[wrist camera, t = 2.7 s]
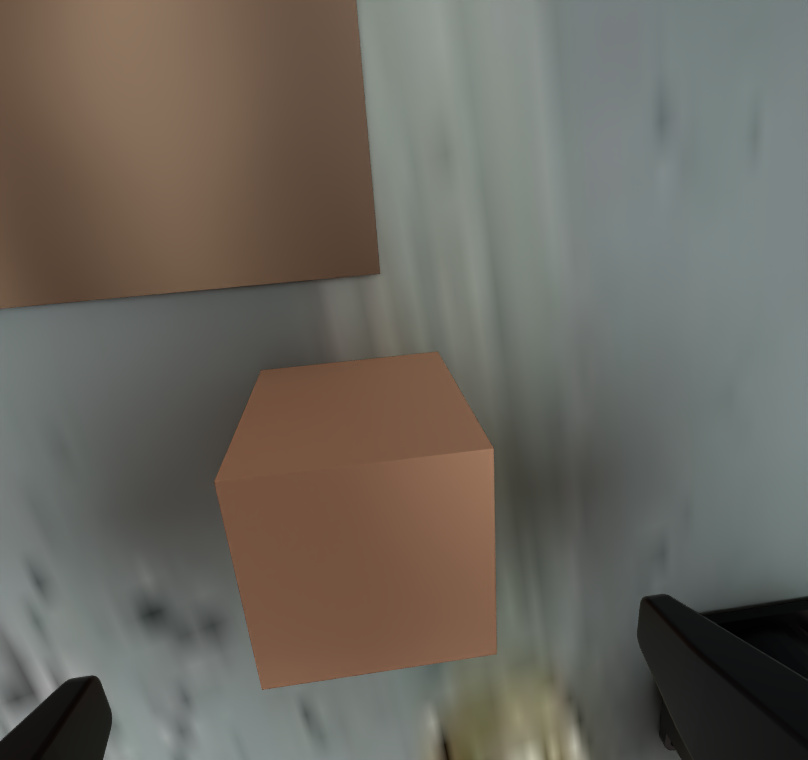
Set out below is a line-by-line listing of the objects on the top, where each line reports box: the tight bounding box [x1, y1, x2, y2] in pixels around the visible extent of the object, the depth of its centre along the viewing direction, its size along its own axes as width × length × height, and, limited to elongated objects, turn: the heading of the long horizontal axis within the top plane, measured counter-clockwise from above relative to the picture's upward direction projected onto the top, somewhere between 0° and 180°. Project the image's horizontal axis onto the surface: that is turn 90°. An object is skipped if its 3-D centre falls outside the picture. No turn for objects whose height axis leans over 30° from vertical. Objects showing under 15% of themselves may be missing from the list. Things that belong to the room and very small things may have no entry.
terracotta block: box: [214, 352, 497, 690], centre depth 13 cm, size 5×5×6 cm
